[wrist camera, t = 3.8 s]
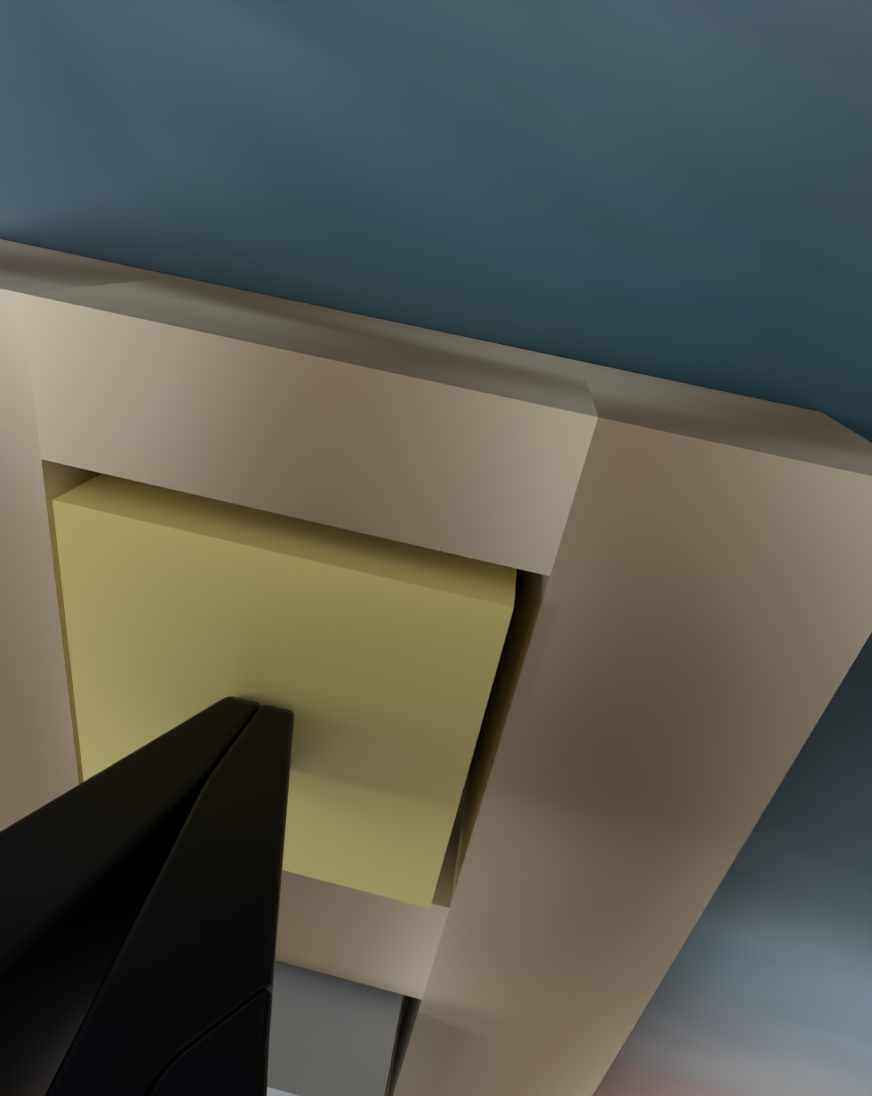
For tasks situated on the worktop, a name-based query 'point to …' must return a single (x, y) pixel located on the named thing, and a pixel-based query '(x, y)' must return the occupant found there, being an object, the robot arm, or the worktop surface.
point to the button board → (531, 641)
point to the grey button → (329, 1035)
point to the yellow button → (289, 662)
